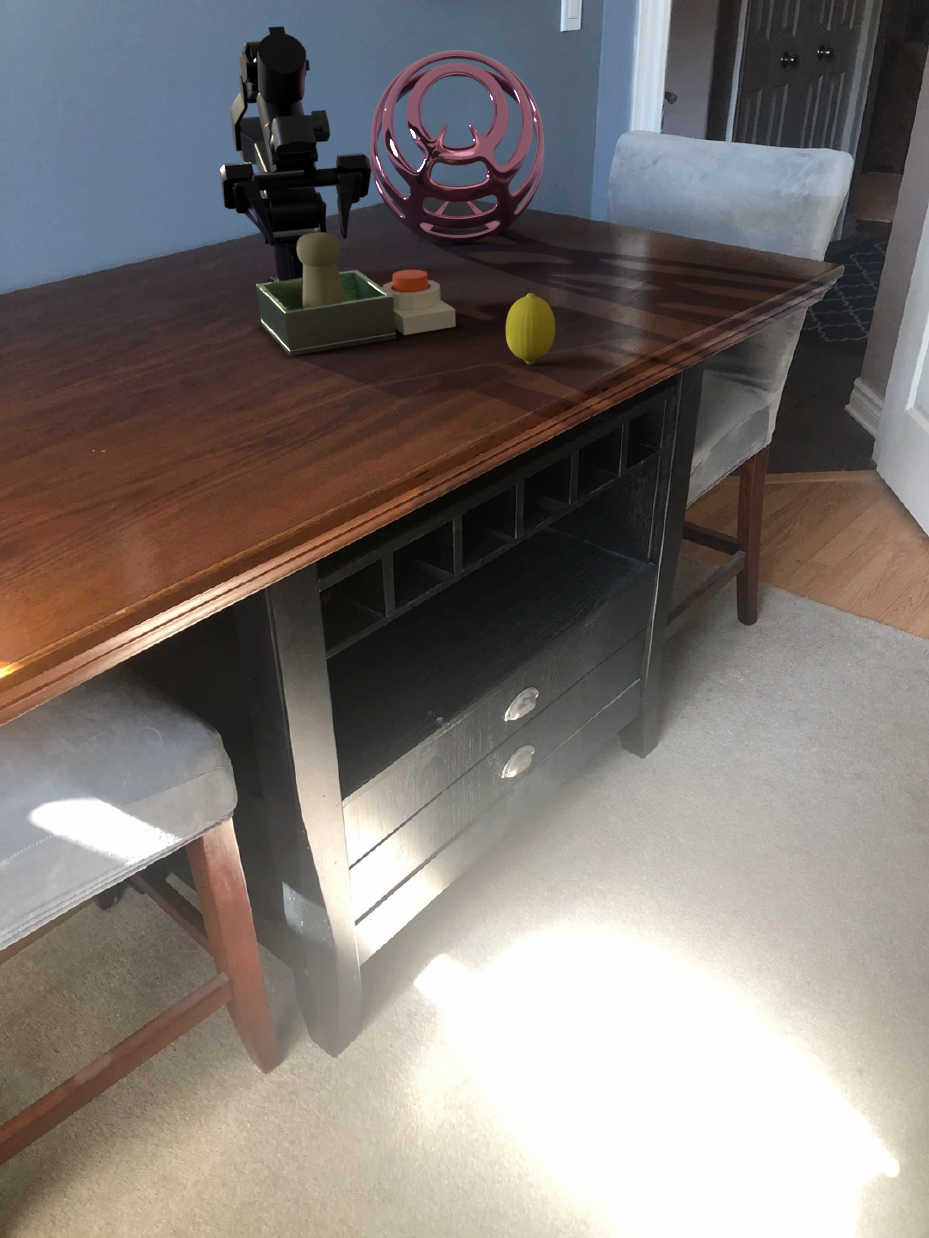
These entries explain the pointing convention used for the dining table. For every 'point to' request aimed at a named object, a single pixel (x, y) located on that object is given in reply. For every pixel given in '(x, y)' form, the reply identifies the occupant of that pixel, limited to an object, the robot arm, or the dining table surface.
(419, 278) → the button
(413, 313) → the control block
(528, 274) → the dining table surface
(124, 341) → the dining table surface
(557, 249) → the dining table surface
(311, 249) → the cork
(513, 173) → the pink openwork sphere
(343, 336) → the warming box
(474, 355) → the dining table surface
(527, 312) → the lemon
